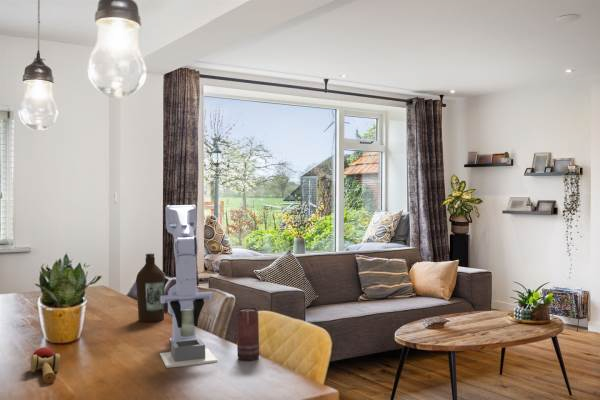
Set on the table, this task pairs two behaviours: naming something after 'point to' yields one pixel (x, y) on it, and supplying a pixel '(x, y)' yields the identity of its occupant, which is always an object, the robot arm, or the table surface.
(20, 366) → the table surface
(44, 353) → the kendama
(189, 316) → the peg
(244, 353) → the can
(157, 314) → the olive oil
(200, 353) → the socket
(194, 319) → the robot arm
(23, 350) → the table surface
